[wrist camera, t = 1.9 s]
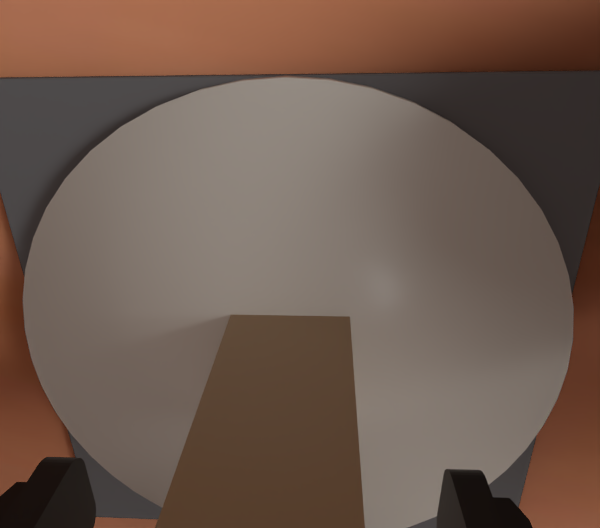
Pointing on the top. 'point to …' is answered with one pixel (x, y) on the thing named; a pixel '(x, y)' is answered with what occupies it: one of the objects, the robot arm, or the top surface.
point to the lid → (296, 307)
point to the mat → (413, 86)
